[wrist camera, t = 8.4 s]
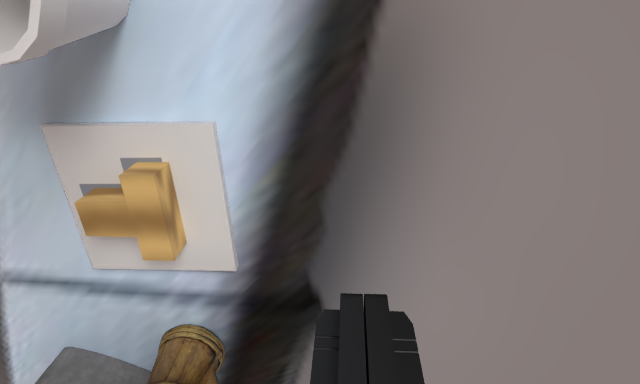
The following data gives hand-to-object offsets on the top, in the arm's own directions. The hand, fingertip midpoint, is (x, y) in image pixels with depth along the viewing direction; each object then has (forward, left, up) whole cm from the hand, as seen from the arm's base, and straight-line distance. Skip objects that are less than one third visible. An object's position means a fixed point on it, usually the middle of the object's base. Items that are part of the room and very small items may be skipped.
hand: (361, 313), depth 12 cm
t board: (+10, -23, -27) cm, 37 cm away
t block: (+10, -24, -26) cm, 36 cm away
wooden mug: (+33, -20, -27) cm, 47 cm away
